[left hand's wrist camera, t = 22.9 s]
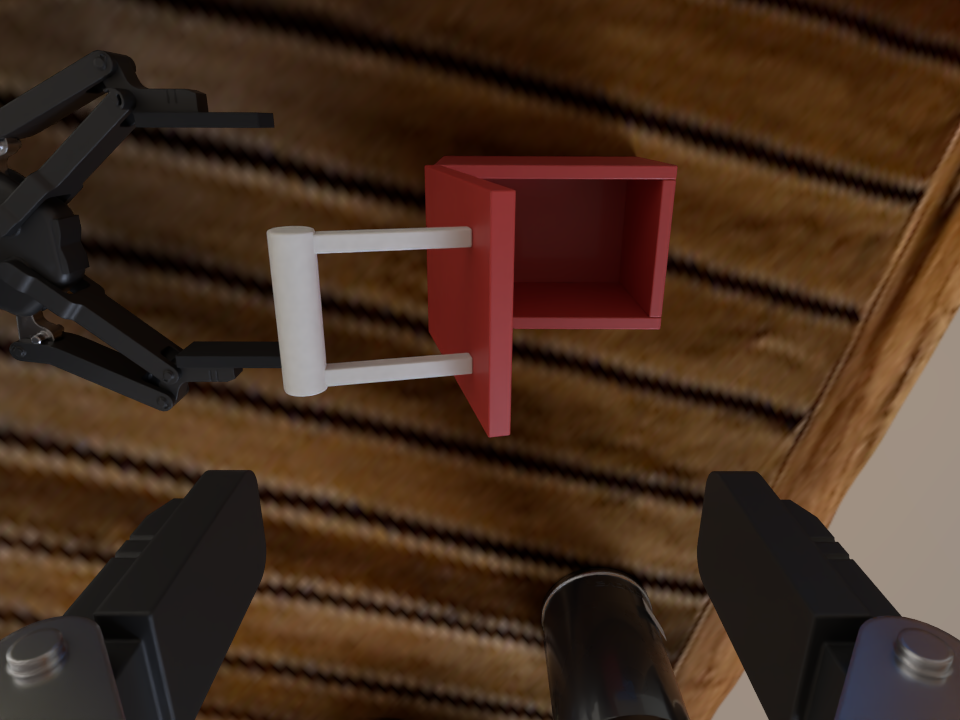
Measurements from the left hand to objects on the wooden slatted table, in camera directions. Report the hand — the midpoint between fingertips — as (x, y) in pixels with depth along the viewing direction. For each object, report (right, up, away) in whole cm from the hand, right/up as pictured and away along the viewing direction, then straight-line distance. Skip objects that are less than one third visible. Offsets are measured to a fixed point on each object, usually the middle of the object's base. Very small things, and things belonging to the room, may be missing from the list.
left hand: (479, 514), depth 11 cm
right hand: (-12, +9, +26) cm, 30 cm away
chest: (+4, +12, +32) cm, 35 cm away
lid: (0, +6, +17) cm, 18 cm away
